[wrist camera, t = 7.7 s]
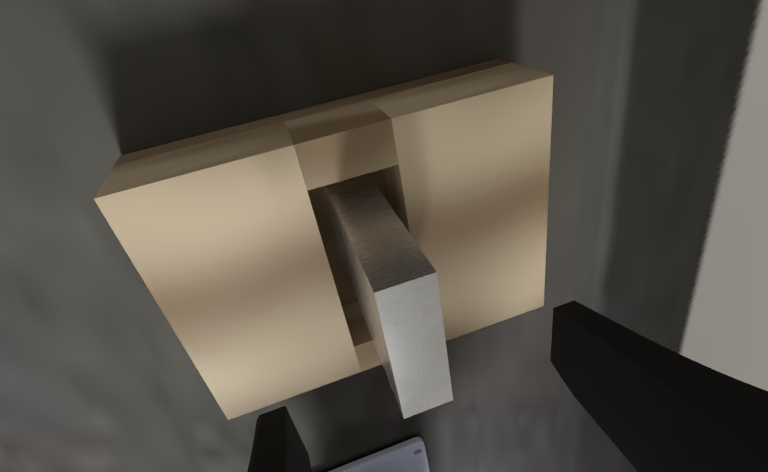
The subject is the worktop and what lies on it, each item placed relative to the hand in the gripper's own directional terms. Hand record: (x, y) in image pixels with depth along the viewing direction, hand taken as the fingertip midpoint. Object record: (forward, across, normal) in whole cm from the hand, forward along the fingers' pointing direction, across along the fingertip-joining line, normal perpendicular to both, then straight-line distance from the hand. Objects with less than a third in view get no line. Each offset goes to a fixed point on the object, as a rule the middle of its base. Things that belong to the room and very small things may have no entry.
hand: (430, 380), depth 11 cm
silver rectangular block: (+8, 0, 0) cm, 8 cm away
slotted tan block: (+9, 0, 0) cm, 9 cm away
